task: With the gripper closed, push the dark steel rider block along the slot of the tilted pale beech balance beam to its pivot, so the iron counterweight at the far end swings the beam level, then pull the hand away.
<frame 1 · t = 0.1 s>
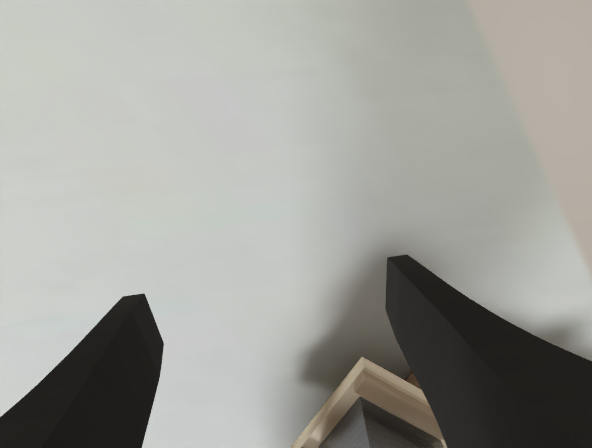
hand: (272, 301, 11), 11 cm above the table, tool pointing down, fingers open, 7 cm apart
steel rider: (379, 443, 23), point 4 cm above the table, tilted 7°, touching balance beam
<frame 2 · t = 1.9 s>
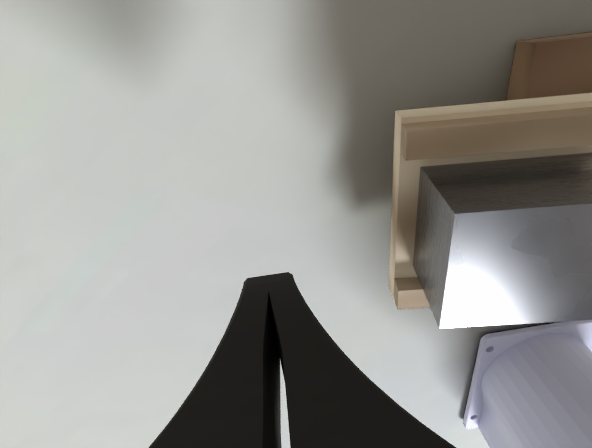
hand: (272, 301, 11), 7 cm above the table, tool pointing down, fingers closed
steel rider: (496, 214, 14), point 4 cm above the table, tilted 7°, touching balance beam
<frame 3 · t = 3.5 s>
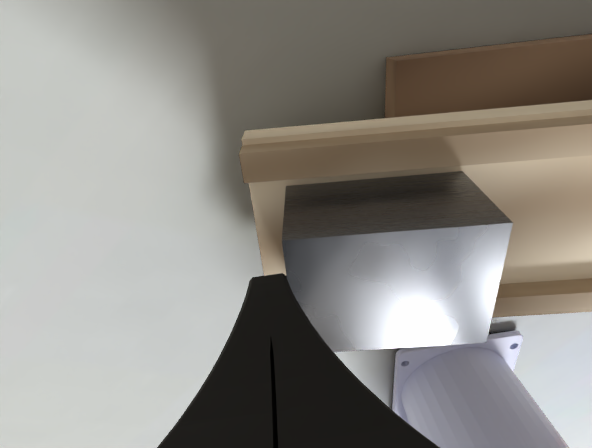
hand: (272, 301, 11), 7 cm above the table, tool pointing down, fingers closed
steel rider: (372, 233, 14), point 4 cm above the table, tilted 7°, touching balance beam, gripper
beam stand: (585, 157, 18), on the table
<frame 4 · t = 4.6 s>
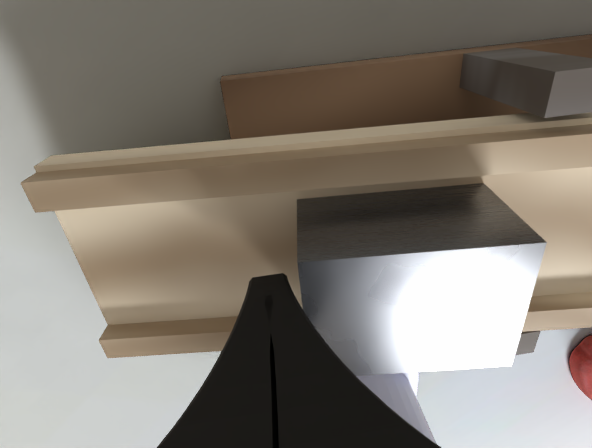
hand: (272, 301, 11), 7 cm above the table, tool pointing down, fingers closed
steel rider: (387, 247, 13), point 5 cm above the table, tilted 6°, touching balance beam, gripper
balance beam: (528, 234, 13), point 5 cm above the table, hinge at -6.6°, touching iron counterweight, steel rider
beam stand: (455, 175, 18), on the table
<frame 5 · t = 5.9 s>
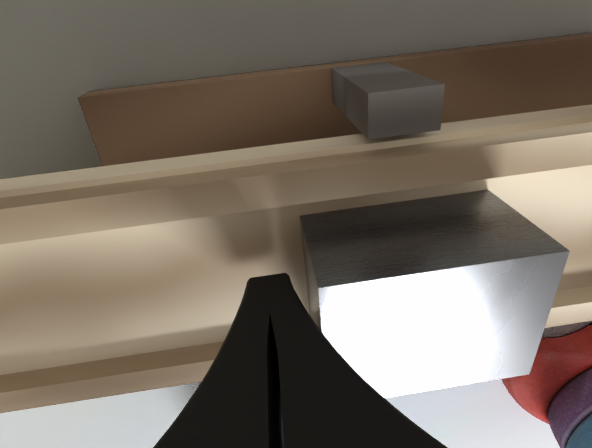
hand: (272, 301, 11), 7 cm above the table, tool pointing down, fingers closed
stacking bear: (578, 362, 27), on the table
steel rider: (392, 259, 13), point 5 cm above the table, touching balance beam, gripper
balance beam: (391, 253, 13), point 5 cm above the table, hinge at -0.3°, touching iron counterweight, steel rider
beam stand: (352, 188, 17), on the table
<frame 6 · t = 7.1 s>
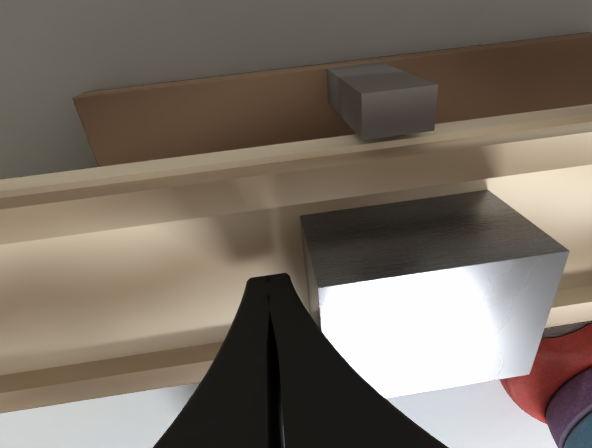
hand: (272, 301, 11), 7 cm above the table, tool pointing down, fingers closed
stacking bear: (576, 362, 27), on the table
steel rider: (392, 259, 13), point 6 cm above the table, touching balance beam, gripper
balance beam: (386, 254, 13), point 5 cm above the table, hinge at -0.3°, touching iron counterweight, steel rider
beam stand: (349, 188, 17), on the table
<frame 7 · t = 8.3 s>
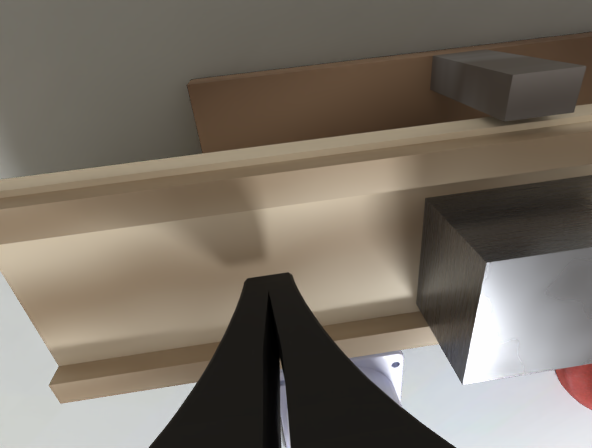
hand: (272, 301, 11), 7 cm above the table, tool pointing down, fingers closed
steel rider: (504, 243, 13), point 6 cm above the table, touching balance beam
balance beam: (499, 237, 13), point 5 cm above the table, hinge at -0.3°, touching iron counterweight, steel rider
beam stand: (432, 177, 18), on the table
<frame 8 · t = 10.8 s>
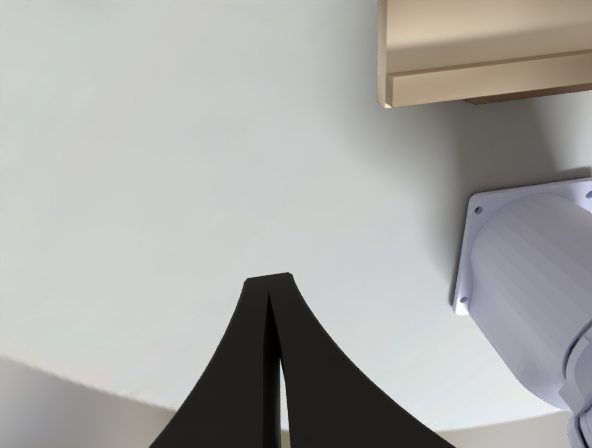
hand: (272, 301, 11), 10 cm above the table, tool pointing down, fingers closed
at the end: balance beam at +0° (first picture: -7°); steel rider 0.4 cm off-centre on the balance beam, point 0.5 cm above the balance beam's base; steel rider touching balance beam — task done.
